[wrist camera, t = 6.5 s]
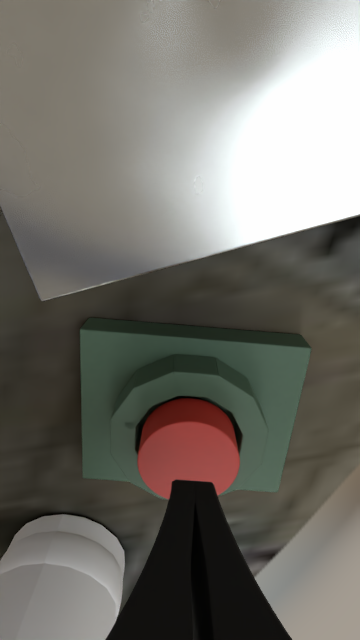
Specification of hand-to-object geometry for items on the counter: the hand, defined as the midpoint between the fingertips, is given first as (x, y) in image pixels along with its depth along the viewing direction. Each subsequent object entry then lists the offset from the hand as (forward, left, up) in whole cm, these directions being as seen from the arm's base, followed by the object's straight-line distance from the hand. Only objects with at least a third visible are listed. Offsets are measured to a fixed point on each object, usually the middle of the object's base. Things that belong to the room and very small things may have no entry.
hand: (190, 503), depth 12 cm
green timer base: (0, -1, -8) cm, 8 cm away
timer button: (0, -1, -5) cm, 5 cm away
